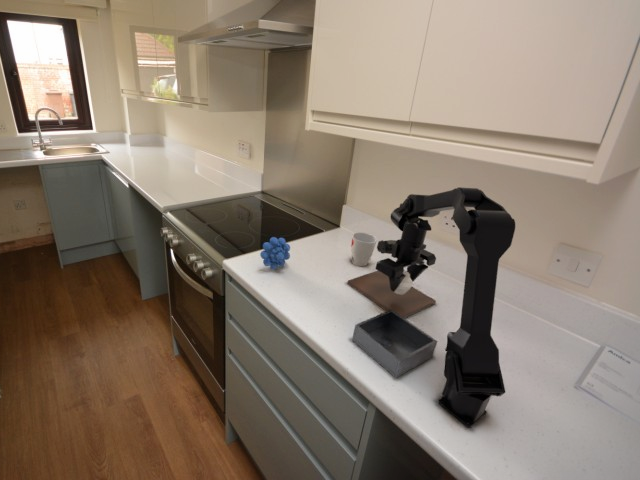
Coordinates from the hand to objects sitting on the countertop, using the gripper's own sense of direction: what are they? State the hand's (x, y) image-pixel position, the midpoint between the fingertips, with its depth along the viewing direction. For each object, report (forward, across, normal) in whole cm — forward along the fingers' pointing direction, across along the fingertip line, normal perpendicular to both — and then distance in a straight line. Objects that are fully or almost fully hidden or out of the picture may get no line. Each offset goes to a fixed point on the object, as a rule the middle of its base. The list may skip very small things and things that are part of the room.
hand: (400, 287), depth 98 cm
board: (+5, -2, -4) cm, 7 cm away
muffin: (+2, 0, 0) cm, 2 cm away
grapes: (+5, +22, -31) cm, 38 cm away
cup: (+5, -8, -22) cm, 24 cm away
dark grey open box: (+5, +17, +12) cm, 21 cm away
